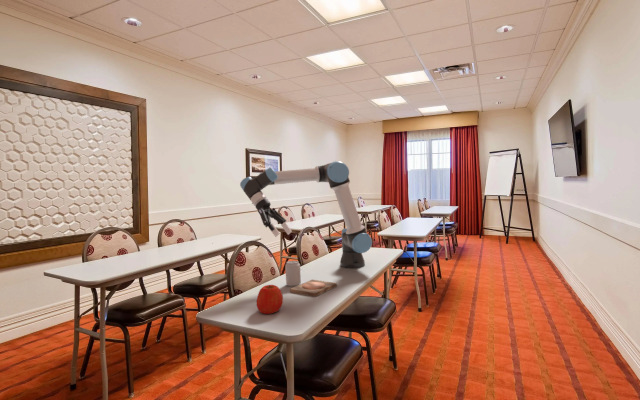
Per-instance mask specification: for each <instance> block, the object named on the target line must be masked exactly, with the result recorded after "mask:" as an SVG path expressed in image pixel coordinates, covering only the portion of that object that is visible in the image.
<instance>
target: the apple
mask: <svg viewBox="0 0 640 400" xmlns="http://www.w3.org/2000/svg"><path fill="white" fill-rule="evenodd" d="M283 303H284V297H283V293H282V291H281V288H279V287H278V286H277V285H274V284H267V285H264V286H262V287H261V288H260V289H259V291H258V293H257V297H256V307H257V310H258V311H259V312H260V314H264V315H270V314H273V313H277V312H279V310H280V309H281V307H282V306H283Z"/></svg>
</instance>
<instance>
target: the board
mask: <svg viewBox="0 0 640 400" xmlns="http://www.w3.org/2000/svg"><path fill="white" fill-rule="evenodd" d="M337 286H338V282H331V281H325V280H318V279H309V280H308V281H305V282H302V283H300V284H299V285H298V286H295V287H290V288H289V292H290V293H293V294H299V295H304V296H310V297H318V296H320V295H321V294H324V293H326V292H328V291H330V290H331V289H335V288H336V287H337Z"/></svg>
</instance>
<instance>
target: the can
mask: <svg viewBox="0 0 640 400" xmlns="http://www.w3.org/2000/svg"><path fill="white" fill-rule="evenodd" d="M284 270H285V284H286V285H287V287H290V288H293V287H296V286H298V285H300V284H302V280H301V277H302V276H301V275H302V274H301V264H300V263H299V261H298V260H288V261H286V262H285V269H284Z"/></svg>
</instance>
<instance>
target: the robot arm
mask: <svg viewBox="0 0 640 400" xmlns="http://www.w3.org/2000/svg"><path fill="white" fill-rule="evenodd" d="M349 175H350V170H349V167H348V166H347V164H346V163H344V162H342V161H336V160H335V161H332V162H328V163H326V164H324V165H316V166H315V167H313V168H312V167H311V168H302V169H300V168H299V169H289V170H287V169H286V170H278V171H277V170H276V171H275V169H273V168H272V167H268V168H267V169H265V170H264V171H262V172H261V173H258V175H257V176H255V177H253V178H252V177H251V176H247V177H245V178H243V179H242V180H241V181H240V184H239V185H240V188H241V189H242V191H243V192H244V194H245V195H246V196H247V197H248V199H249V200H250V201H251V204H252V205H253V206H254V207H255V209H256V210H257V212H258V214H259V215H260V219H261V222H262V223H263V224H262V225H263V226H264V227H265V228H269V230H270V231H271V233H272V234H273V236H274V237H275V238H277V237H278V236H279V235H280V231H279V230H278V229H277V227H276V226H275V225H274V223H272V220H271V219H273V220H275V221H276V222H278V223H279V224H280V226H281V228H282V229H283V230H284V231H285V233H286V234H287V235H288V236H289V235H290V234H291V233H292V232H293V231H292V229H291V228H290V226H289V225H288V224H287V223H286V222H287V220H286V219H285V218H284V217H283V216H282V215H281V214H280V212H278V211H277V209H275V208H274V207H273V208H271V202H270V201H269V199H268V198H267V197H266V195H265V194H264V192H263V191H262V190H264V189H265V188H266V187H268V186H273V185H284V184H293V183H294V184H296V183H305V182H316V183H328V185H329V188H330V189H331V190H333V191H334V195H335V197H336V199H337V203H338V207H339V208H340V212H341V214H342V218H343V220H344V224H345V227H346V228H342V229H341V243H342V244H341V247H342V248H341V249H342V254H341V258H340V262H339V266H340V265H341V268H347V269H348V268H349V269H353V268H361V267H364V266H366V261H365V259H364V256H363V254H365V253H367V252H369V250H370V249H371V247H372V245H373V240H372V237H371V236H370V235H369V233H367V232H368V231H367V230H366V226H365V225H363V224H362V222H361V220H360V216H359V213H358V210H357V206H356V204H355V202H354V201H355V200H354V198H353V195H352V193H351V190H350V187H349V184H350V183H351V181H350V180H351V179H350V178H349Z"/></svg>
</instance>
